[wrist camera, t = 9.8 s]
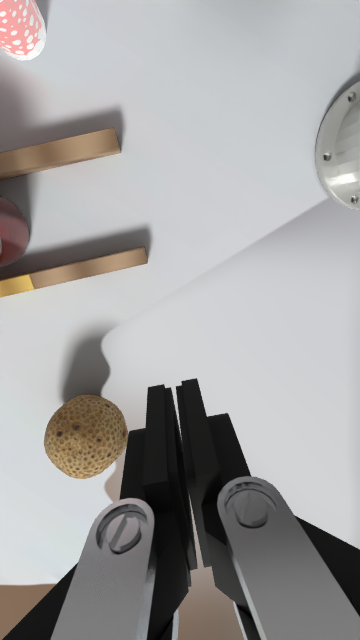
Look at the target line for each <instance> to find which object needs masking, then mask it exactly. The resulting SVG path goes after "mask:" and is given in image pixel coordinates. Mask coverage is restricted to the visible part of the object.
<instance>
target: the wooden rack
mask: <svg viewBox="0 0 360 640" xmlns="http://www.w3.org/2000/svg"><path fill="white" fill-rule="evenodd" d="M117 153H121V151H120V147H119V143H118V139H117V135H116V133H115V130H114V128H110V129H105V130H101V131H96V132H92V133H87V134H83V135H78V136H74V137H69V138H65V139H61V140H56V141H52V142H47V143H43V144H38V145H34V146H29V147H25V148H20V149H16V150H11V151H7V152H3V153H0V180H2V179H6V178H11V177H15V176H20V175H24V174H28V173H33V172H37V171H42V170H46V169H51V168H55V167H60V166H64V165H68V164H73V163H77V162H82V161H86V160H91V159H95V158H100V157H104V156H108V155H113V154H117ZM147 262H148V260H147V256H146V252H145V248H144V247H139V248H135V249H131V250H126V251H122V252H118V253H113V254H109V255H105V256H100V257H96V258H91V259H87V260H83V261H78V262H74V263H70V264H65V265H61V266H57V267H52V268H48V269H43V270H39V271H35V272H30V273H26V274H22V275H17V276H13V277H9V278H4V279H0V297H4V296H9V295H13V294H17V293H22V292H26V291H30V290H35V289H39V288H43V287H47V286H52V285H56V284H60V283H65V282H69V281H73V280H78V279H82V278H86V277H91V276H95V275H99V274H104V273H108V272H112V271H117V270H121V269H125V268H130V267H134V266H138V265H143V264H147Z"/></svg>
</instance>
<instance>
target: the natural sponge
mask: <svg viewBox="0 0 360 640" xmlns="http://www.w3.org/2000/svg"><path fill="white" fill-rule="evenodd" d="M127 441H128V431H127V427H126V423H125V420H124V416H123V414H122V412H121V411H120V410H119V409H118V408H117V406H116V405H115V404H113V403H112V402H110V401H108V400H107V399H104V398H103V397H100V396H97V395H92V394H85V395H79V396H77V397H75V398H73V399H71V400H69V401H68V402H66V403H65V404H64V405H63V406H62V407H60V408H59V409H58V410H57V411H56V412H55V413H54V415H53V416H52V417H51V419H50V421H49V423H48V425H47V428H46V432H45V438H44V446H45V451H46V454H47V455H48V457H49V459H50V460H51V461H52V463H53V464H54V465H55V466H56V467H57V468H58V469H60V470H61V471H62V472H64V473H65V474H67V475H68V476H71V477H73V478H77V479H86V478H90V477H93V476H96V475H98V474H100V473H101V472H103V471H104V470H105V469H106V468H108V467H109V466H110V465H111V464H112V463H113V462H114V461H115V460H116V459H117V458H118V457H119V456H120V455H121V453H122V452H123V450H124V449H125V447H126V446H127Z"/></svg>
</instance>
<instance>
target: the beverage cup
mask: <svg viewBox="0 0 360 640" xmlns="http://www.w3.org/2000/svg"><path fill="white" fill-rule="evenodd" d="M45 40H46V28H45V22H44V20H43V18H42V15H41V13H40V11H39V9H38V6H37V4H36V2H35V0H0V47H1V48H2V49H3V50H4V51H5V52H6V53H7V54H8V55H9V56H11V57H14V58H16V59H18V60H31V59H33V58H34V57H36V56H38V55H39V54H40V52H41V51H42V49H43V48H44V46H45Z"/></svg>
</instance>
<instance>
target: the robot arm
mask: <svg viewBox="0 0 360 640" xmlns="http://www.w3.org/2000/svg"><path fill="white" fill-rule="evenodd" d="M315 151H316V167H317V172H318V176H319V178H320V181H321V183H322V186H323V187H324V189H325V190H326V192H327V193H328V195H330V196H331V197H332V198H333V199H334V200H335V201H336V202H338V203H339V204H341V205H343V206H344V207H348V208H351V209H355V210H360V81H358V82H357V83H355V84H354V85H352V86H351V87H350V88H348V89H347V90H346V91H344V92H343V93H342V94H341V95H340V96H339V97H338V98H337V100H336V101H335V102H334V103H333V105H332V106H331V108H330V109H329V110H328V112H327V114H326V116H325V118H324V120H323V122H322V124H321V127H320V131H319V134H318V137H317V143H316V150H315ZM323 156H324V157H325V160H324V158H323ZM176 393H177V402H178V410H179V419H180V428H181V435H180V430H179V425H178V420H177V415H176V410H175V405H174V400H173V395H172V390H171V388H165V386H164V384H163V385H157V386H152V387H148V395H147V413H146V428H143V429H138V430H132V431H130V432H129V434H128V441H127V449H126V455H125V464H124V470H123V478H122V485H121V493H120V500H119V501H117V502H114V503H112V504H110V505H109V506H108V507H107V508H105V509H104V510H103V511H102V512H101V513H100V514H99V515H98V517H97V518H96V519H95V521H94V523H93V525H92V527H91V529H90V531H89V534H88V537H87V540H86V543H85V545H84V548H83V551H82V554H81V556H80V559H79V562H78V563H77V564H76V565H75V566H74V567H73V568H72V569H71V570H70V571H69V572H68V573H67V574H66V575H65V576H64V577H63V578H62V579H61V580H60V581H59V582H58V583H57V584H56V585H55V586H54V587H53V588H52V589H51V591H49V593H48V594H47V595H46V596H45V597H44V598H43V599H42V600H41V601H40V602H39V603H38V604H37V605H36V606H35V607H34V608H33V609H32V610H31V611H30V612H29V613H28V614H27V615H26V616H25V617H24V618H23V619H22V620H21V621H20V622H19V623H18V624H17V625H16V626H15V627H14V628H13V629H12V630H11V631H10V632H9V633H8V635H6V636H5V637H4V638H3V640H177V637H178V621H179V617H178V607H179V605H180V603H181V602H182V601H183V599H184V597H185V596H186V594H187V593H188V587H190V586H191V577H190V570H194V569H197V559H196V550H195V541H194V532H193V524H192V515H191V506H190V500H191V505H192V510H193V514H194V520H195V525H196V530H197V534H198V539H199V544H200V550H201V554H202V559H203V565H204V567H209V566H212V571H213V576H214V581H215V586H216V587H217V588H218V589H219V590H221V591H222V592H223V593H224V594H226V595H227V596H228V597H229V598H230V599H232V600H233V604H234V609H235V612H236V615H237V618H238V621H239V624H240V627H241V630H242V633H243V636H244V639H245V640H360V550H359V549H358V548H355V547H354V546H352V545H350V544H348V543H346V542H344V541H342V540H340V539H338V538H336V537H335V536H333V535H331V534H329V533H327V532H325V531H323V530H321V529H319V528H318V527H316V526H314V525H312V524H310V523H308V522H306V521H304V520H302V519H300V518H298V517H297V516H295V515H294V514H293V513H292V511H291V509H290V508H289V507H288V505H287V503H286V502H285V500H284V499H283V497H282V496H281V494H280V493H279V491H278V490H277V489H276V488H275V487H274V486H273V485H272V484H270V483H269V482H267V481H266V480H263V479H260V478H257V477H251V475H250V471H249V469H248V466H247V463H246V460H245V458H244V455H243V453H242V450H241V447H240V444H239V441H238V439H237V436H236V433H235V430H234V428H233V425H232V423H231V420H230V417H229V415H228V413H225V414H219V415H214V416H209V417H207V416H206V412H205V408H204V404H203V400H202V396H201V392H200V388H199V384H198V381H197V378H196V379H191V380H186V381H182V386H176ZM181 436H182V440H181ZM189 495H190V499H189Z"/></svg>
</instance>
